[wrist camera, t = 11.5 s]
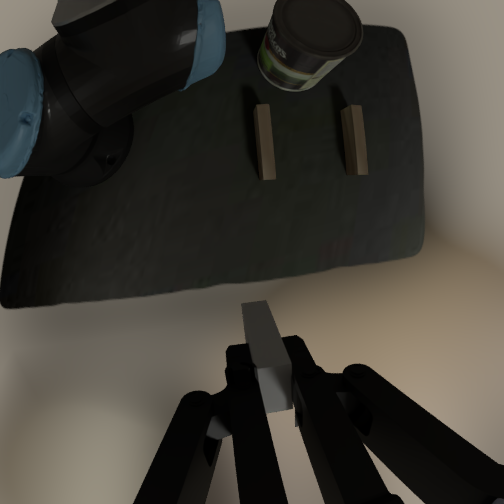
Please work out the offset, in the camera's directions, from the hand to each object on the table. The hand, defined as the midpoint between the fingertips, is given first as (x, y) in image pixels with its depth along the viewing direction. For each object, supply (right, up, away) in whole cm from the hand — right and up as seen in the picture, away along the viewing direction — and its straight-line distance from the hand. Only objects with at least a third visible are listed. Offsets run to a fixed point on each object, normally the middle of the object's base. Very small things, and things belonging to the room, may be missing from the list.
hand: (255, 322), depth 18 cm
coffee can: (+6, +32, +20) cm, 38 cm away
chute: (+8, +20, +23) cm, 31 cm away
